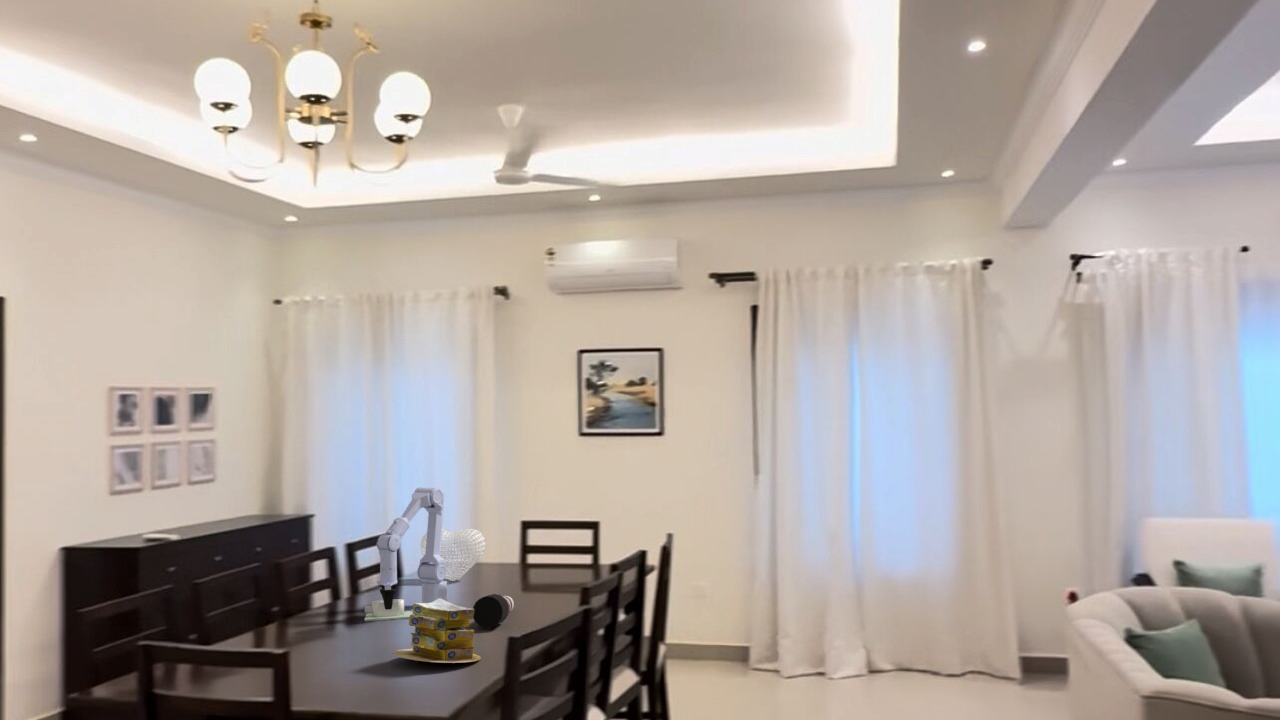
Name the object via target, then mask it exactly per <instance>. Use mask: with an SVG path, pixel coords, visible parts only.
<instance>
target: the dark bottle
mask: <svg viewBox="0 0 1280 720" xmlns="http://www.w3.org/2000/svg"><path fill="white" fill-rule="evenodd" d="M514 603H515V602H514V599H513V598H512V597H510V596H509V595H503V596H502V595H501V594H496V593H492V594H488V595H485V596H482V597H481V598H480V597H479V599H478V600H476V601H475V603H474V604H473V606H472V608H473V609H474V616H473V619H472V620H474V621H475V624H476V625H478V626H479V627H482V628H483V629H491V628H493V627H495V626H498V625H499V624H501V623H503V622H505V620H506V619H507V618H508V615H509V613H511V611H513V609H514V606H515V604H514Z"/></svg>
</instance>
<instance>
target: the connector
mask: <svg viewBox="0 0 1280 720" xmlns="http://www.w3.org/2000/svg"><path fill="white" fill-rule="evenodd" d="M404 611H405V599H403V598H400V599H399V598H398V599H393V604H392V608H391V609H387V610H385V607H384V601H383V600H381V599H379V600H372V601H371V605H365V606H364V613H365V614H369V613H371V614H372V617H385V616H400V615H404Z"/></svg>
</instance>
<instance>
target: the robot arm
mask: <svg viewBox="0 0 1280 720" xmlns="http://www.w3.org/2000/svg"><path fill="white" fill-rule="evenodd" d="M444 500H445V493H444V492H443V491H442V489H441V488H439V487H422V486H421V487H416V489H415V490H414V491H413V493H412V494H411V500H410V502H409V503H408V505H407V507H405V510H404V511H403V514H402V515H401V516H400V517H397V518H394V519H393V522H392V523H391V525H390V526H389V528H388V529H387V530H386V532H385V533H384V534H381V535H380V536H379V537H378V538H377V541H376V543H375V546H376V547H377V550H378V554H379V565H380V566H379V568H380V569H379V572H380V573H379V574H380V575H379V576H380V580H377V581H376V584H377V585H381V588H379V592H380V595H381V596H382V599H383V601H384V607H385V610H387V609H391V608H392V604H393V600H394V597H395V593H396V592H397V587H398V555H397V554H398V550H399V549H400V547H401V542H402V539H403V537H404V535H405V534H406V532H407V531H408V530H409V529H410V522H411V521H412V520H413V518H414V517H415V516H416V515H417V513H419V512H420V510H421V509H423V508H424V509H425V510H426V511H427V512H428V517H427V519H428V520H427V529H426V533H427V540H426V542H425V543H426V545H425V548H426V550H425V551H426V552H425V556H422V558H420V560H419V565H418V567H417V572H416V574H417V577H418V578H419V580H420V582H421V600H422V601H421V603H428V602H433V601H435V600H437V599H438V598H441V599H443V600H446V602H449V595H448V581H447V580H445V579H446V577H445V576H446V572H447V571H446V567H447V566H446V567H445V561H446V559H445V560H444V559H443V557H441V556H440V555H441V554H440V551H441V550H442V549H441V547H442V545H441V543H442V541H441V539H442V538H441V537H442V533H443V532H442V529H443V522H444V511H445V510H444V507H445V506H444ZM430 563H434V564H430Z"/></svg>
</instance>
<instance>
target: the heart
mask: <svg viewBox="0 0 1280 720" xmlns="http://www.w3.org/2000/svg"><path fill="white" fill-rule="evenodd" d="M426 540H427V532H426V533H424V534H423V536H422V538H421V541H420V551H421V554H422V555H423V556H422V557H424V556H425V552H426ZM486 544H487V543H486V538H485V536H484V535H483V533H482V532H481V531H479V530H478V529H474V528H463V529H460V530H457V531H450V530H446V529H445V528H442V536H441V549H440V556H441V557H442V558H443V559H444V560H445V567H446V576H445V579H447V580H449V581H451V582H457V580H459V579H460V578H462V577H463V576H464V575H465V574H466V573H467V572H468V571H469V570H470V569H471V568H473V566H475V564H477V563H478V562H479V560H480V559H481V558H482V556H483V554H484V553H485V550H486ZM459 552H460V553H459ZM462 552H463V553H462ZM430 564H434V563H430Z"/></svg>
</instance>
